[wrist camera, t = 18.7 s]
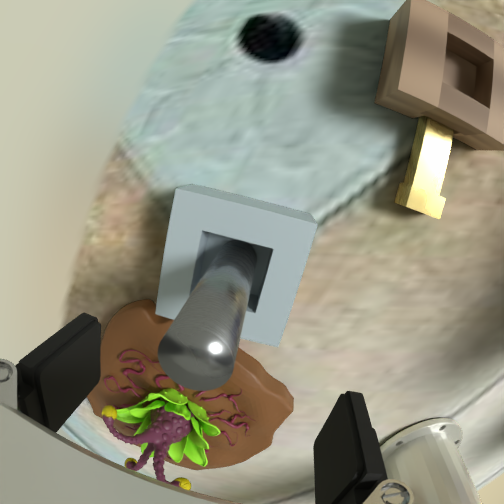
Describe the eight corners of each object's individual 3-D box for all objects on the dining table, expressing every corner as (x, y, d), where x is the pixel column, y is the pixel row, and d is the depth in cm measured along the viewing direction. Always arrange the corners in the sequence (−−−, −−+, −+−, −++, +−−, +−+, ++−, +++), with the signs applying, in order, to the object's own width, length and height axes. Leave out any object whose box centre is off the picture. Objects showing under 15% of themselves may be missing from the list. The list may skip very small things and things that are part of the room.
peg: (251, 280, 24) (224, 398, 11) (215, 271, 24) (154, 377, 11) (261, 245, 23) (242, 340, 10) (223, 235, 23) (161, 317, 10)
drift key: (425, 214, 22) (439, 219, 20) (394, 202, 22) (406, 206, 20) (454, 78, 19) (469, 72, 16) (424, 63, 19) (437, 55, 16)
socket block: (477, 150, 20) (513, 150, 15) (374, 103, 20) (397, 89, 15) (487, 70, 18) (520, 59, 13) (390, 19, 18) (411, -7, 13)
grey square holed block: (278, 320, 25) (277, 347, 22) (171, 292, 25) (155, 314, 22) (310, 214, 23) (317, 224, 19) (192, 183, 23) (176, 188, 19)
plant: (213, 472, 33) (198, 543, 22) (78, 391, 31) (31, 452, 20) (324, 385, 27) (340, 480, 17) (144, 266, 26) (70, 329, 15)
